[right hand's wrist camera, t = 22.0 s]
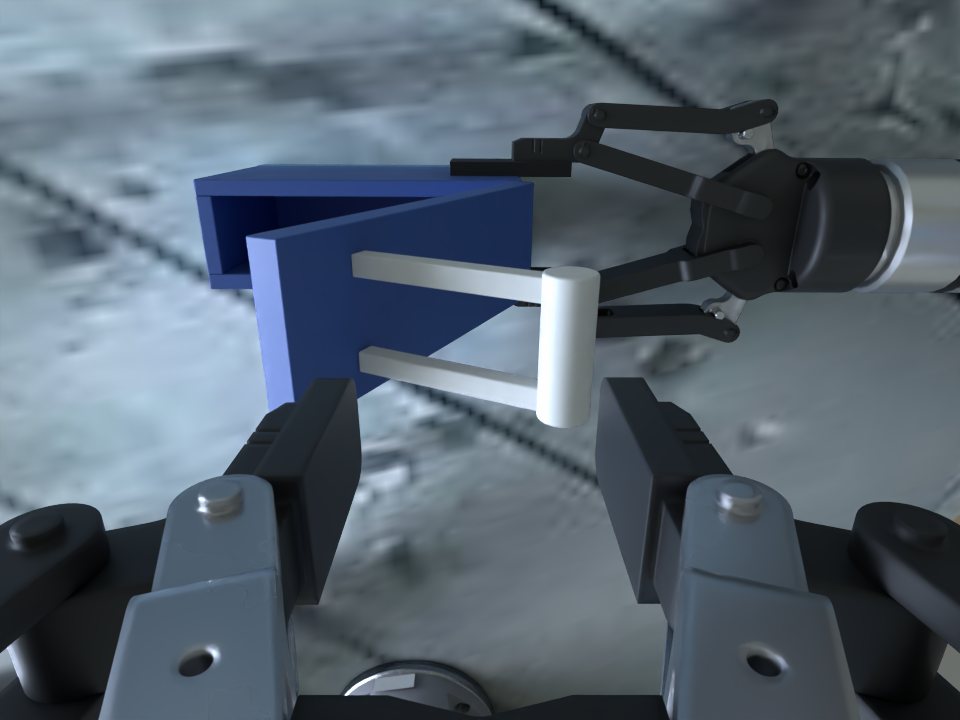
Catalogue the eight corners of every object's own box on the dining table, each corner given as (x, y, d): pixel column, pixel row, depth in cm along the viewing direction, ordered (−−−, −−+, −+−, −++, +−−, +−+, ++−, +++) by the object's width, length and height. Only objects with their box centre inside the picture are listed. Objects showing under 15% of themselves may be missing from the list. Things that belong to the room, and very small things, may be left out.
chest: (273, 249, 42) (210, 289, 32) (263, 164, 40) (192, 179, 30) (511, 250, 42) (520, 291, 32) (513, 165, 40) (523, 180, 30)
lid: (270, 426, 18) (542, 507, 14) (244, 235, 16) (554, 271, 12) (510, 292, 32) (679, 315, 28) (513, 181, 30) (695, 191, 26)
